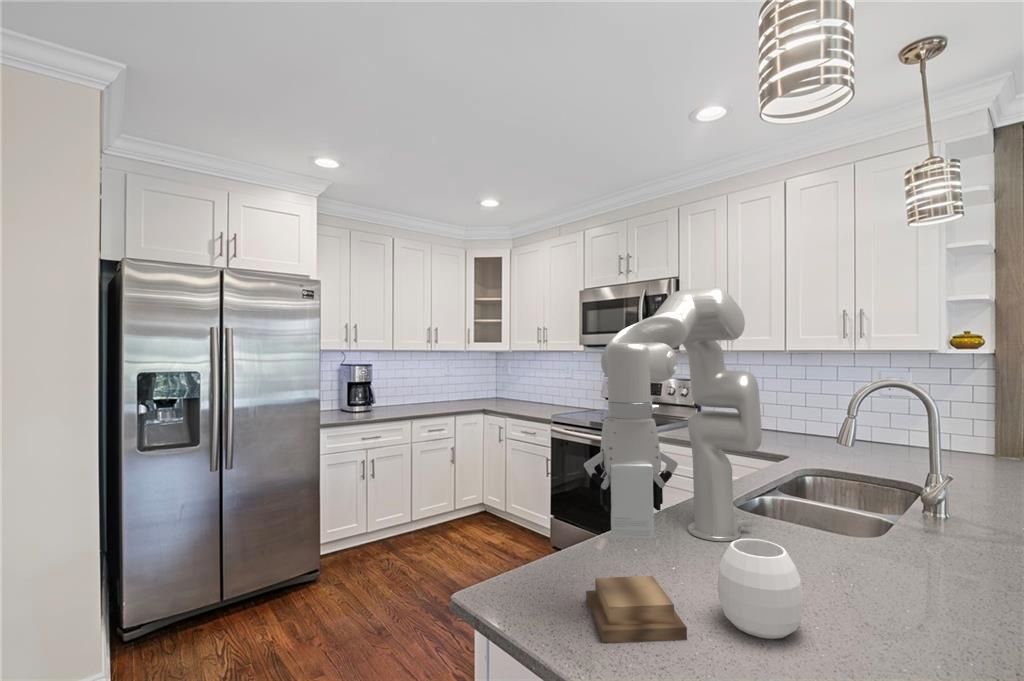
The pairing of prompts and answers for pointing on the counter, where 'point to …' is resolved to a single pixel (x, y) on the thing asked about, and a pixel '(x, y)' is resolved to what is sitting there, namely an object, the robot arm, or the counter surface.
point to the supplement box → (632, 501)
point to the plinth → (634, 629)
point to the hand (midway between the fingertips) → (631, 508)
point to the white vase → (760, 588)
